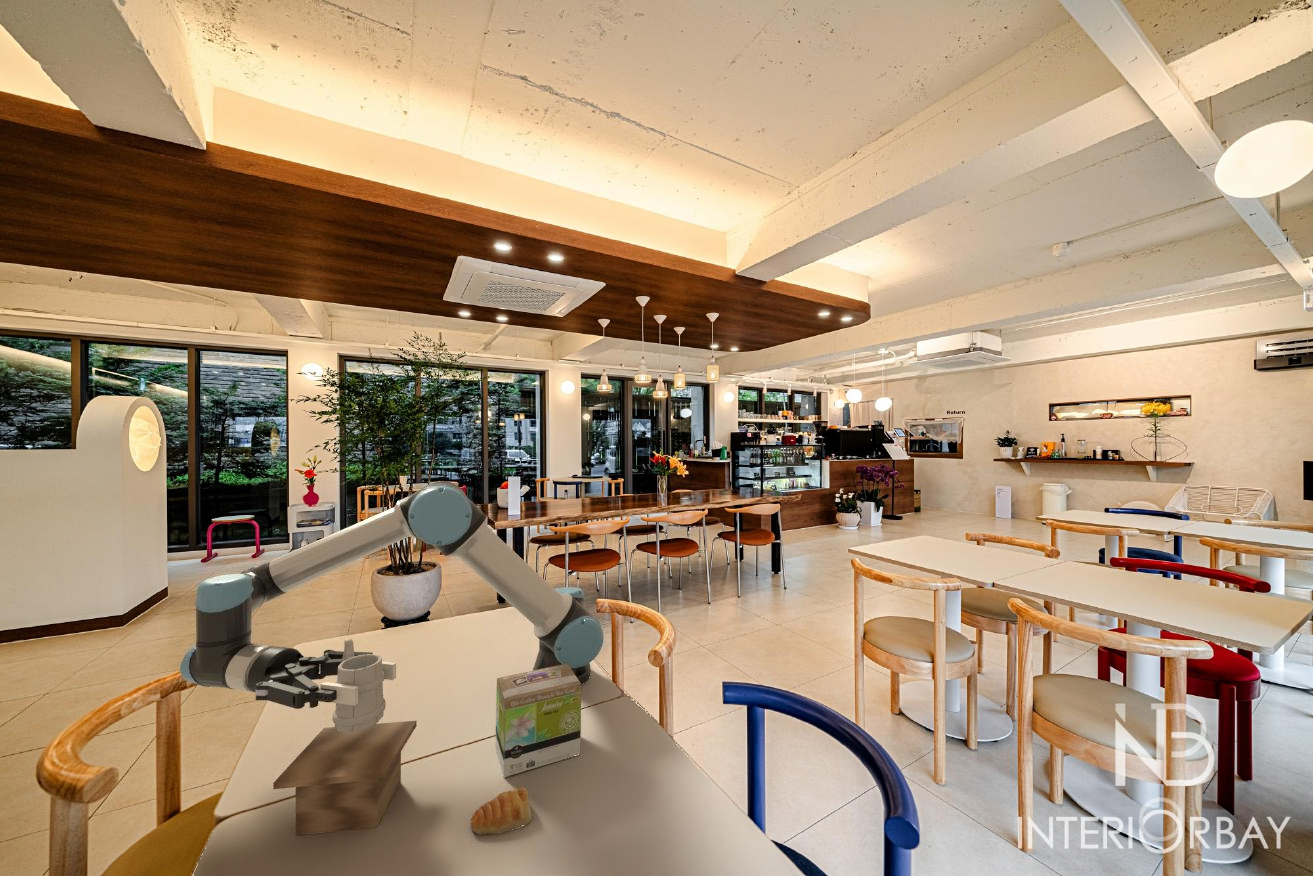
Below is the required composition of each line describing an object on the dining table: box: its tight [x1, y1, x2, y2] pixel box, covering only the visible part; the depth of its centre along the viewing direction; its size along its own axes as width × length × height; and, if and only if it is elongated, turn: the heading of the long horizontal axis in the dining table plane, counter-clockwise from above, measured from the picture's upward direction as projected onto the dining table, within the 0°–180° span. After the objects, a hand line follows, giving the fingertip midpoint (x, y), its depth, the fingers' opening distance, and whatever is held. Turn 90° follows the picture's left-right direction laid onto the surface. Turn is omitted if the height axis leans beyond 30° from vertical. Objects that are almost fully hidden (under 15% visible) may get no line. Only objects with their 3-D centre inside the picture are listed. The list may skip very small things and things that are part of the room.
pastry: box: [470, 786, 533, 836], centre depth 78 cm, size 9×7×4 cm
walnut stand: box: [272, 720, 418, 837], centre depth 81 cm, size 16×14×10 cm
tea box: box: [494, 664, 582, 779], centre depth 95 cm, size 15×10×15 cm, turn 117°
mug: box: [332, 638, 387, 733], centre depth 82 cm, size 8×12×12 cm, turn 50°
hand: (376, 683), depth 80 cm, fingers closed on mug, 7 cm apart
